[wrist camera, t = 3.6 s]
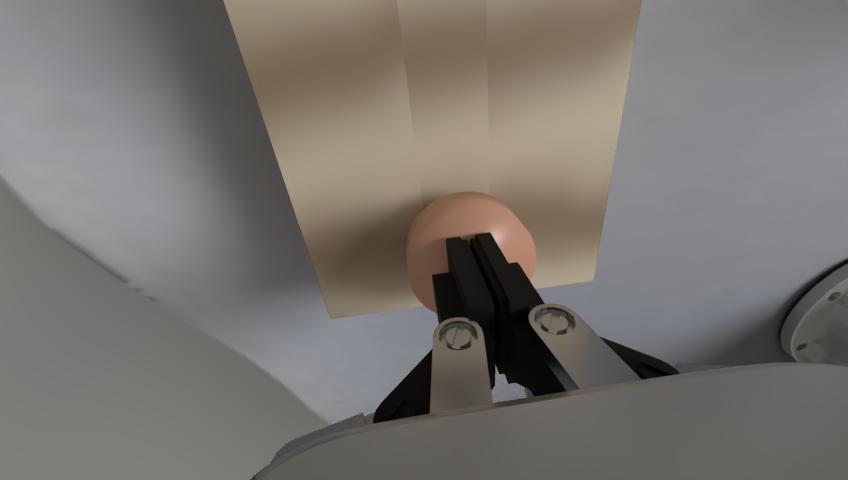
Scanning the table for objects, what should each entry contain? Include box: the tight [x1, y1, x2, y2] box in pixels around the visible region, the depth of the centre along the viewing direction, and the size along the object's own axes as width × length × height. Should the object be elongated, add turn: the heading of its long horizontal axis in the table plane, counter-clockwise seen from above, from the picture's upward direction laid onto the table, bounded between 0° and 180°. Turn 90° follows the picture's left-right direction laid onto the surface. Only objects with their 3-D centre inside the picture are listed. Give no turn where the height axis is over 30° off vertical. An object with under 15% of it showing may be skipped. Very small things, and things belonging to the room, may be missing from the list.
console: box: [223, 0, 642, 319], centre depth 14 cm, size 22×14×5 cm, turn 7°
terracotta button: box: [406, 191, 536, 313], centre depth 15 cm, size 5×5×6 cm
